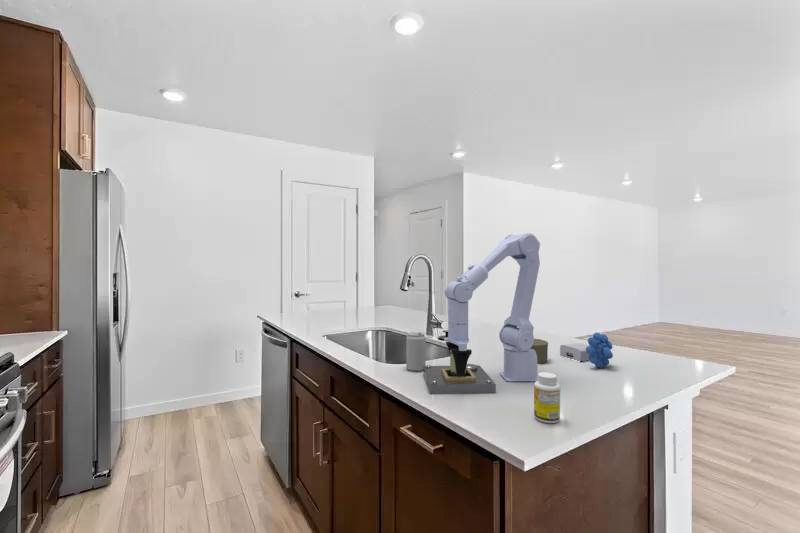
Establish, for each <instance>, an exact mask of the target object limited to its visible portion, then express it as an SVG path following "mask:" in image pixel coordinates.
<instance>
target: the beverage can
mask: <svg viewBox="0 0 800 533" xmlns="http://www.w3.org/2000/svg"><path fill="white" fill-rule="evenodd" d="M405 339H406V340H405V341H406V342H405V344H406V345H405V348H406V352H405V355H406V358H405V360H406V362H405V363H406V364H405V365H406V366H405V367H406V369H407V370H409V372H423V366H427V364H426V363H427V362H426V360H427V359H426V358H427V357H426V356H427V355H426V354H427V352H426V347H427V345H426V344H427V343H426V342H427V340H426V339H427V337H426V335H425V333H424V332H420V331H411V332H408V333H407V335H406V338H405Z"/></svg>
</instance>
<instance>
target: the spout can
mask: <svg viewBox="0 0 800 533" xmlns="http://www.w3.org/2000/svg"><path fill="white" fill-rule="evenodd" d="M450 352H451V350H450ZM449 359H450V360H449V361H450V362H449V366H450V377H462V376H466V370H465V374H457V372H456V368H455V361H454V357H453V354H452V352H451V354H450V353H449Z"/></svg>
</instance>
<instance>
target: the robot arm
mask: <svg viewBox="0 0 800 533" xmlns="http://www.w3.org/2000/svg"><path fill="white" fill-rule="evenodd" d="M540 247H541V243H540V241H539V240H538V238H537V237H536V236H535V235H534V234H533V233H529V232H527V233H523V234H521V233H520V234H508V235H507V236H505V237H504V238H503V239H502V240H500V242H499V244H498V245H497V246H496V247H495V248H493V250H492V251H491V252H490V253H489V254H488V255H487V256H486V257H485V258H484V259H483V260H482V261H481V262H480V263H474V264H470V265H468V267H467V270H465V271H464V272H463V273H462V274H461V275H458V276H457V277H456V280H454V281H451V282H449V283H448V285H446V288H445V290H444V296H445V298H446V299H447V302H448V303H447V306H448V309H447V310H448V312H447V313H448V317H447V318H448V320H447V323H448V325H447V328H448V330H447V332H448V336H447V337H444V338H443V340H444V342H445V345H446V346H447V348H448V351H449V352H448V353H449V355H450V354H451V352H452V354H453V357H454V361H455V368H456V372H457V374H465V370H466V365H467V364H468V361H469V359H470V356H471V355H472V352H473V351H472V349H467V345H468V343H469V341H470V338H469V301H470V300H471V299H472V298H473V294H474V292H475V290H476V289H477V288H479V287H480V286H481V285H482V284H484V282H485V281H486V280H487V279H488V278H489V272H490V271H492V270H493V269H494V268H495V267H496V266H498V265H499V264H500V263H501V262H502V261H504V260H505V259H506V258H507V257H511V258H512V259H514V260H515V261H516V263H517V264H518V265H519V271H518V277H517V282H516V287H515V290H514V291H515V292H514V297H513V301H512V306H511V311H510V316H508V317H507V318H505V320H504V322H503V325H502V327H501V328H500V331H499V340H500V342H501V343H502V347H503V371H499V375H500V376H501V377H502V378H503V379H504V380H505V382H536V381H538V365H537V354H536V352H535V350H534V349H530V348H531V347H532V345H533V343H534V339H535V336H534V325H533V324H532V323H531V320H530V315H531V310H532V304H533V300H534V295H535V290H536V286H537V280H538V276H539V270H540V265H541V264H540V263H541V262H540V260H541V259H540V253H539V252H540ZM450 350H451V352H450Z"/></svg>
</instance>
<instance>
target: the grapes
mask: <svg viewBox="0 0 800 533" xmlns="http://www.w3.org/2000/svg"><path fill="white" fill-rule="evenodd" d="M587 343H588V345H590V346H587V348H586V352H587V353H588V354H589V355H590V356H589V362H590V363H591V364H594V366H595V367H596V368H598V369H601V368H603V366H604V367H607V366H609V365H610V360H611V359H612V358H613V357H614V354H613V352H612V349H613V344H612V342H611V341H609V337H608V336H607V334H605V333H600V332H594V333H593V334H592V336H590V337H588V339H587Z"/></svg>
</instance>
